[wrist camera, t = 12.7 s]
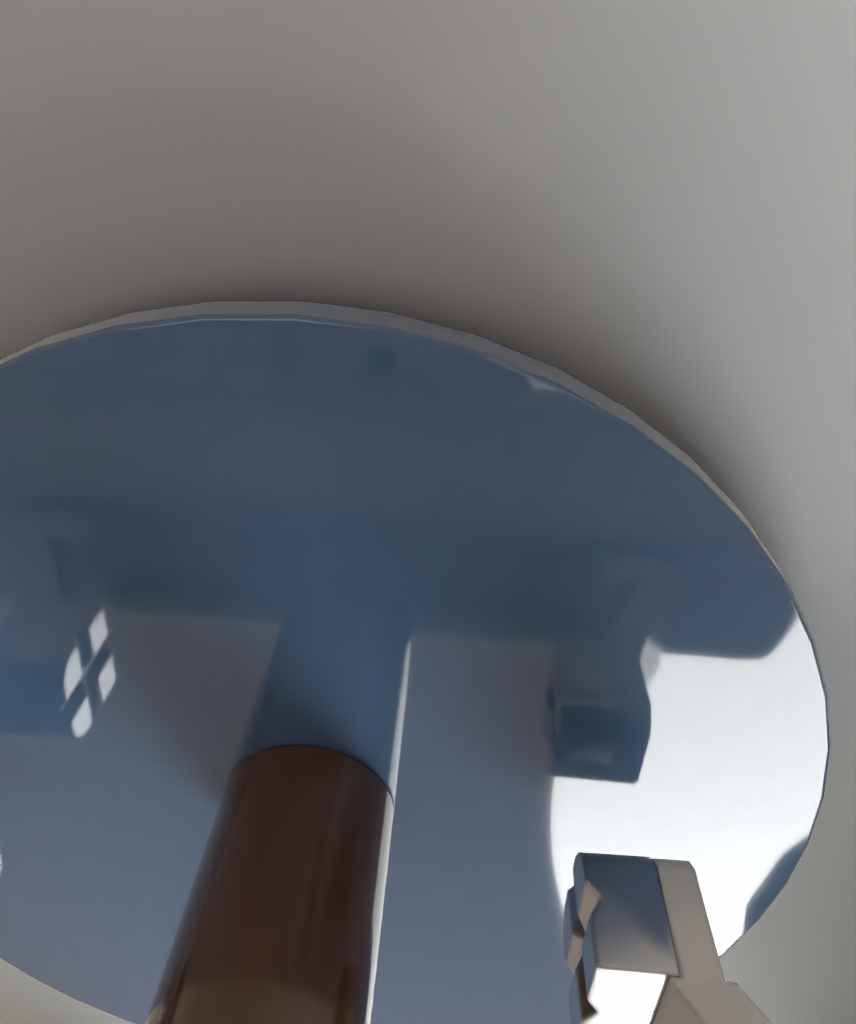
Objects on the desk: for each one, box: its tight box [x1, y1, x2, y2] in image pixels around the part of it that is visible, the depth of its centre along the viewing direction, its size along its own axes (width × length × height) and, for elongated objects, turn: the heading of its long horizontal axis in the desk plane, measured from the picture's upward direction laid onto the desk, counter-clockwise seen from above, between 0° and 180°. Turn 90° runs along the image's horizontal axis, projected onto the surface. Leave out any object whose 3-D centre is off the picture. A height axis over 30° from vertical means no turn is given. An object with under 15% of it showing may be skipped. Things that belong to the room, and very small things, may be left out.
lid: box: [0, 301, 830, 1024], centre depth 11 cm, size 15×15×5 cm
